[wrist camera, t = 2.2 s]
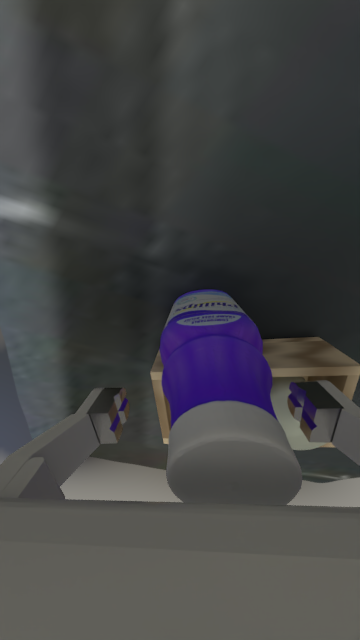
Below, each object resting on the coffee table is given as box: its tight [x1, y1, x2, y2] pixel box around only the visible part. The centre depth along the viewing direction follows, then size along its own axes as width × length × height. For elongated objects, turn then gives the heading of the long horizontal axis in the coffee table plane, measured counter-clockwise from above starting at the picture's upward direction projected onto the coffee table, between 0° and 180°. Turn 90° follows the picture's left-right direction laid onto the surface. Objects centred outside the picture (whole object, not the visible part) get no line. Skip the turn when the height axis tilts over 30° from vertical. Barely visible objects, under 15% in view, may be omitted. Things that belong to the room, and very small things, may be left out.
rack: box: [150, 337, 360, 447], centre depth 21 cm, size 20×11×6 cm, turn 95°
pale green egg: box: [270, 376, 326, 450], centre depth 20 cm, size 6×6×7 cm
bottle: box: [159, 289, 302, 505], centre depth 13 cm, size 7×6×17 cm
